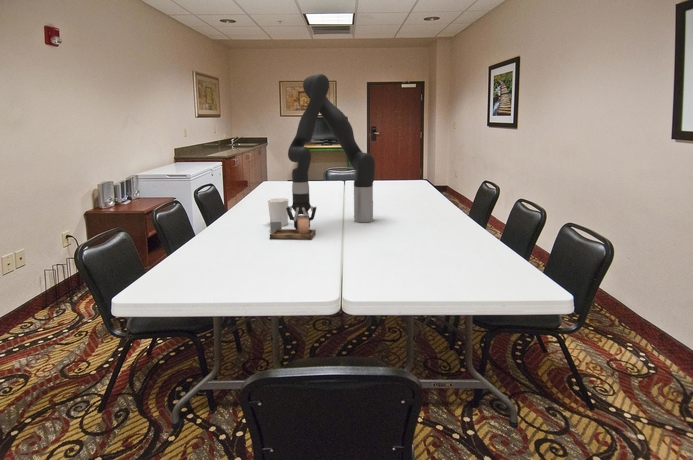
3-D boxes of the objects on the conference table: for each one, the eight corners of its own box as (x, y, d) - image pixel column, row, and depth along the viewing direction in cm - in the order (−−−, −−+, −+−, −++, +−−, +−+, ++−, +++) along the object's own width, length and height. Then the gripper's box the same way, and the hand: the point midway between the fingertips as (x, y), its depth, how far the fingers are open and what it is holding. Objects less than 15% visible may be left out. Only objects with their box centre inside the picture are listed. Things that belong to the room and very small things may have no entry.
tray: (315, 234, 210) (315, 229, 210) (311, 239, 201) (311, 235, 200) (276, 233, 212) (275, 229, 212) (269, 239, 203) (269, 234, 202)
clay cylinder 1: (306, 229, 218) (306, 214, 216) (307, 232, 214) (306, 217, 212) (297, 230, 217) (296, 215, 215) (297, 232, 213) (297, 217, 211)
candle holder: (285, 227, 224) (284, 202, 221) (266, 226, 226) (264, 201, 223) (292, 222, 233) (291, 198, 230) (273, 221, 235) (272, 197, 232)
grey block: (281, 229, 219) (281, 219, 218) (281, 232, 214) (281, 221, 213) (270, 230, 219) (270, 219, 217) (270, 232, 214) (270, 222, 212)
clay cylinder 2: (310, 234, 208) (309, 218, 206) (308, 236, 203) (307, 220, 202) (300, 234, 208) (299, 218, 206) (298, 236, 204) (297, 220, 202)
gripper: (318, 190, 214) (319, 227, 218) (287, 190, 216) (288, 226, 220) (315, 193, 207) (316, 231, 211) (283, 193, 208) (284, 230, 212)
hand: (302, 228), depth 215 cm, fingers closed on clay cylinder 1, 4 cm apart
